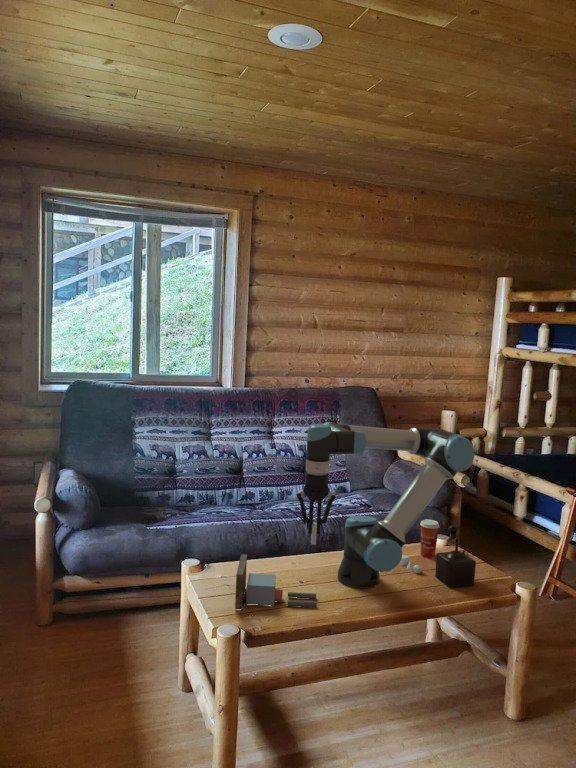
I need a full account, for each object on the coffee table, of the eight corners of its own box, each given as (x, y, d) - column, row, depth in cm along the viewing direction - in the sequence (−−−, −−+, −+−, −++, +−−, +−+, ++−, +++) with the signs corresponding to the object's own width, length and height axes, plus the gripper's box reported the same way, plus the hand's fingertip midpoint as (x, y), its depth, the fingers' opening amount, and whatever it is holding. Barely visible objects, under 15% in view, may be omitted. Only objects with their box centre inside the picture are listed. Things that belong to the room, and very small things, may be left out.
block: (275, 593, 199) (275, 574, 198) (274, 606, 190) (275, 586, 189) (248, 592, 199) (249, 573, 198) (246, 605, 190) (247, 585, 189)
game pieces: (397, 563, 231) (398, 555, 231) (404, 562, 232) (405, 554, 232) (416, 575, 220) (416, 567, 220) (423, 574, 221) (423, 566, 221)
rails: (315, 598, 197) (316, 593, 197) (316, 607, 191) (316, 603, 191) (287, 596, 198) (287, 592, 197) (287, 606, 191) (287, 601, 191)
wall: (245, 588, 202) (247, 554, 201) (241, 610, 186) (242, 574, 185) (239, 588, 202) (241, 554, 201) (234, 610, 186) (236, 574, 185)
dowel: (282, 598, 196) (282, 587, 196) (281, 604, 192) (282, 593, 192) (252, 596, 196) (252, 585, 196) (251, 603, 192) (251, 591, 192)
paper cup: (414, 555, 239) (416, 521, 238) (423, 550, 245) (425, 517, 243) (432, 560, 234) (434, 526, 233) (440, 555, 240) (443, 522, 238)
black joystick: (476, 586, 213) (480, 538, 211) (450, 589, 209) (454, 540, 208) (451, 568, 228) (455, 523, 226) (426, 571, 224) (430, 525, 222)
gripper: (297, 474, 186) (293, 546, 188) (338, 476, 186) (334, 548, 188) (296, 468, 193) (293, 538, 196) (336, 470, 193) (332, 539, 196)
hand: (313, 543), depth 192 cm, fingers closed
